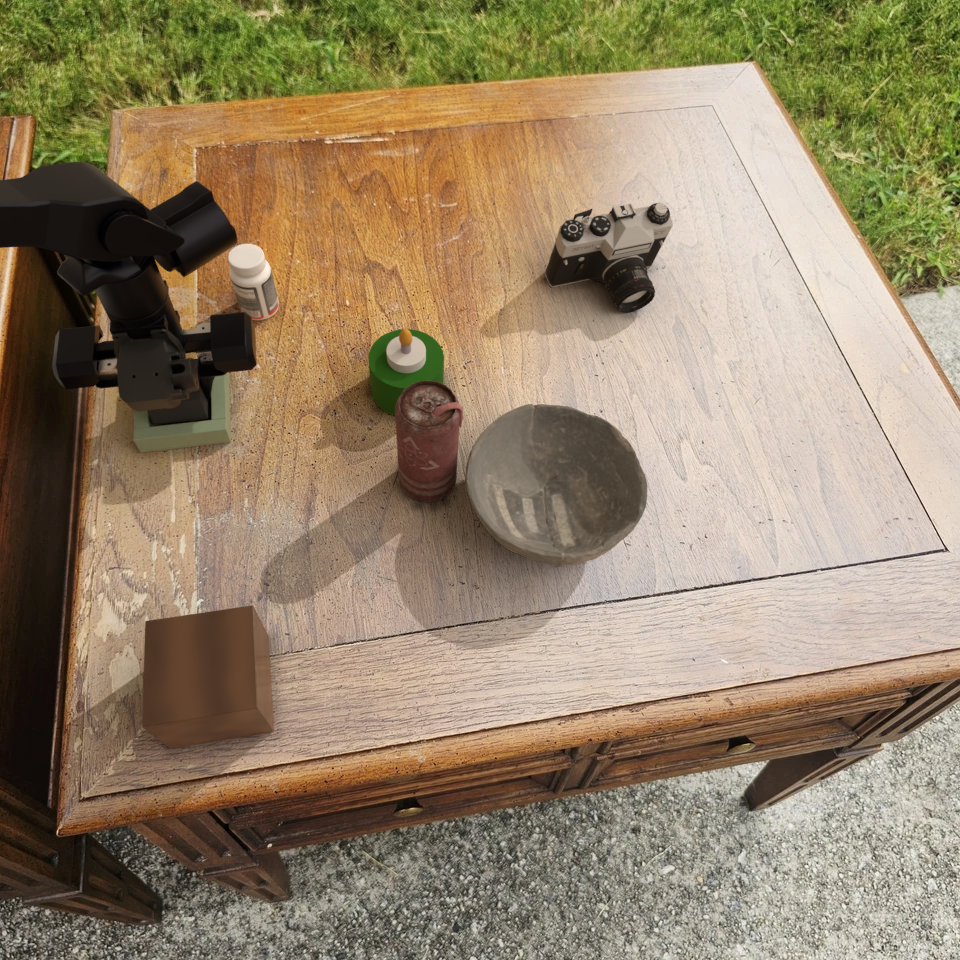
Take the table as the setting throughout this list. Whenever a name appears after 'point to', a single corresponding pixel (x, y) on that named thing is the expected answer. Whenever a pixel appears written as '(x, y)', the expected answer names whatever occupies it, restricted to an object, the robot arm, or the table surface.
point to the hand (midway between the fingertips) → (180, 399)
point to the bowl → (555, 484)
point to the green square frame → (188, 425)
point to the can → (427, 440)
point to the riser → (207, 677)
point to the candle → (402, 364)
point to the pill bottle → (253, 281)
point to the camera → (612, 252)
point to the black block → (183, 408)
